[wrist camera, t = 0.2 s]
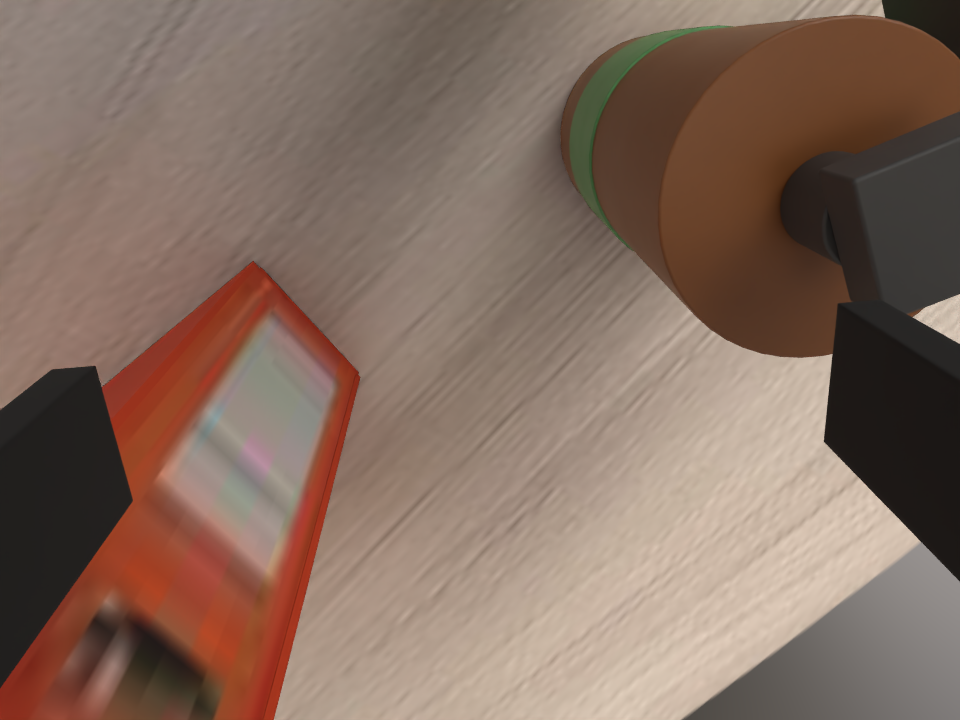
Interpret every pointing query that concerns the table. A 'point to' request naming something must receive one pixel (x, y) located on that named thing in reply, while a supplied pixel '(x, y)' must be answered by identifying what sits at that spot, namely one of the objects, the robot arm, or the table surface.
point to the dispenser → (777, 170)
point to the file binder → (202, 522)
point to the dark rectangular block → (929, 18)
